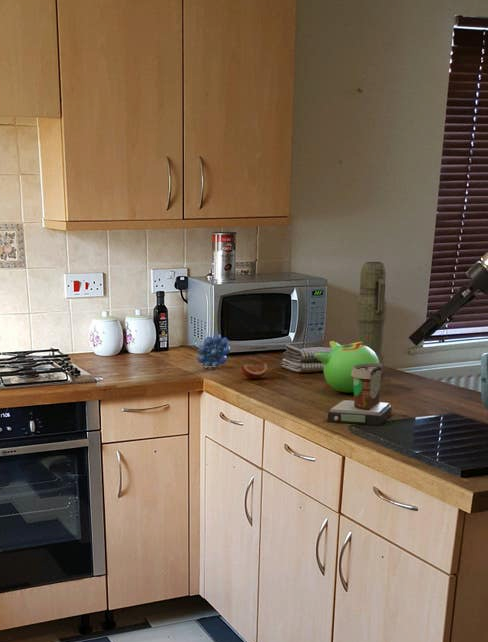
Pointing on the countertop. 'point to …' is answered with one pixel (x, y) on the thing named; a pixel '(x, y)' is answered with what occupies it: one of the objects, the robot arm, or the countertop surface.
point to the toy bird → (344, 364)
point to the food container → (367, 385)
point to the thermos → (372, 307)
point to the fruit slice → (254, 370)
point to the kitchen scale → (359, 413)
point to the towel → (303, 359)
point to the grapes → (213, 351)
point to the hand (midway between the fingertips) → (417, 338)
